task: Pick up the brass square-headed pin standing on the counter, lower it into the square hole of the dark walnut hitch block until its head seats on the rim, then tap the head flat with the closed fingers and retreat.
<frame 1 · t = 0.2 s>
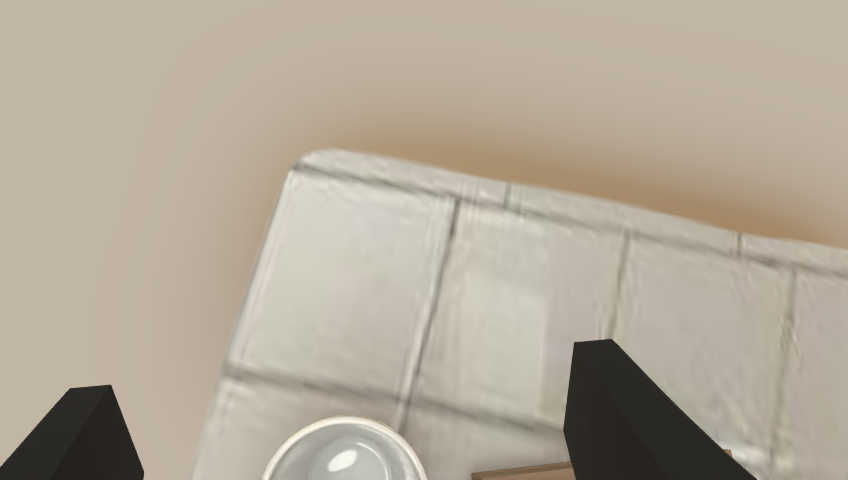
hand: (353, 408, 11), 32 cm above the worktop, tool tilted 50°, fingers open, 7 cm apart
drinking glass: (352, 476, 41), on the worktop
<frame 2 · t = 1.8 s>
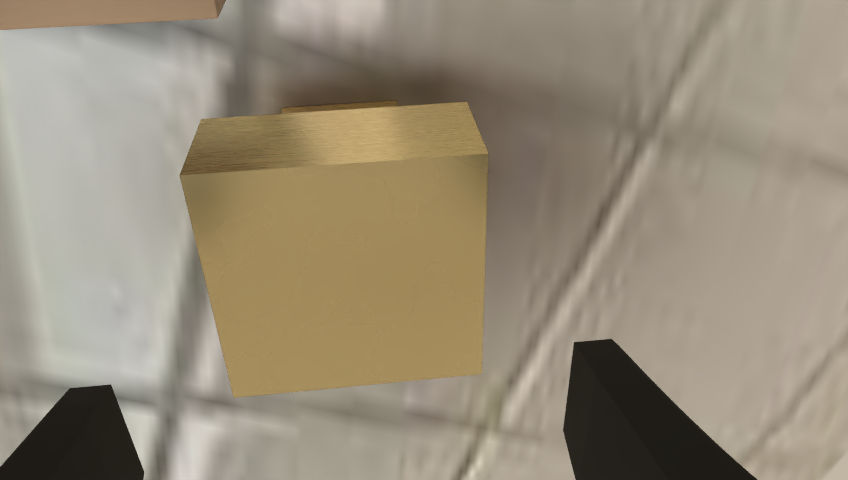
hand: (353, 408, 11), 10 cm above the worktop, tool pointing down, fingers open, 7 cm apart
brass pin: (344, 155, 19), on the worktop
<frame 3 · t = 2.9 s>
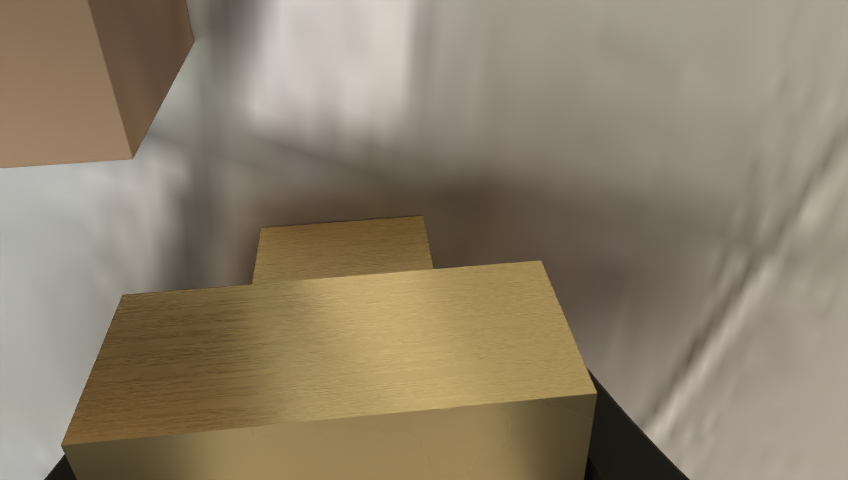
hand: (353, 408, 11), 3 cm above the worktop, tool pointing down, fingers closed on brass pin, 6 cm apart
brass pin: (349, 286, 14), on the worktop, touching gripper
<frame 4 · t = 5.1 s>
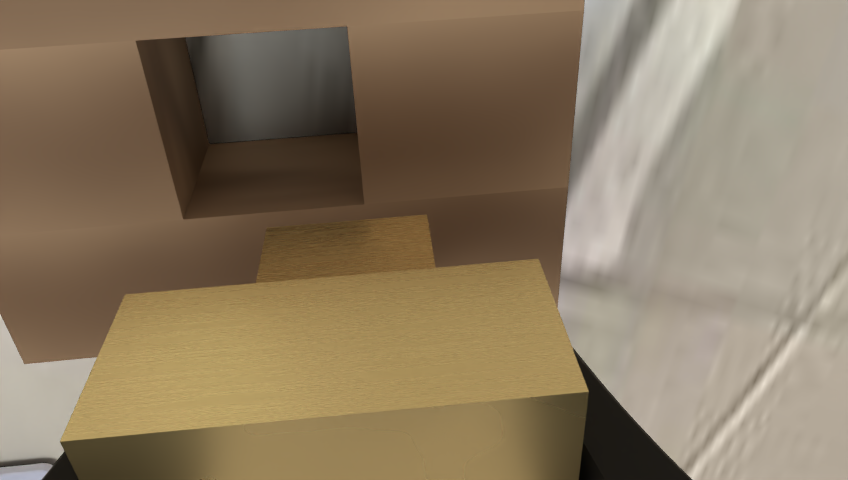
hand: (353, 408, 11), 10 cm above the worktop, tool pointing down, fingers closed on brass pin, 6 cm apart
hitch block: (273, 66, 19), on the worktop
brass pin: (355, 284, 14), point 7 cm above the worktop, touching gripper
when the fingers open (5 cm above the worktop, at t = 7.3 s): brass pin stays where it is, resting on hitch block.
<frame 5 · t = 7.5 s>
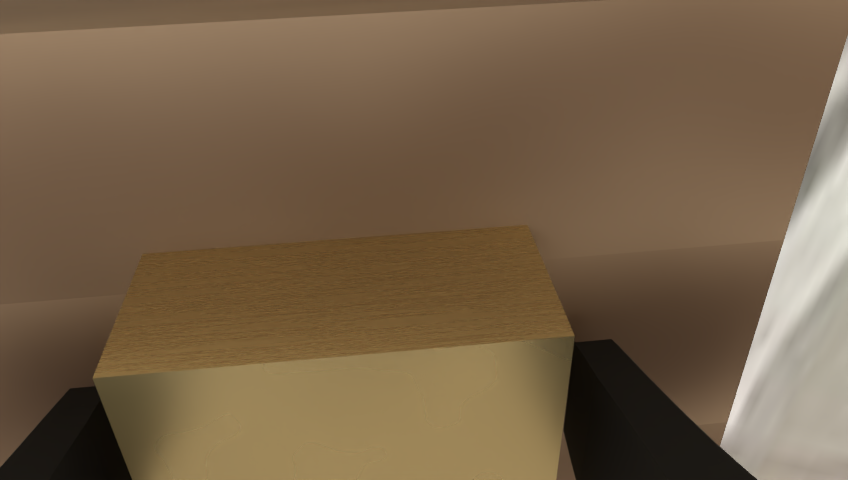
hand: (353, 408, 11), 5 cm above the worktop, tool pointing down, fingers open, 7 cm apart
hitch block: (348, 244, 15), on the worktop
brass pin: (350, 258, 15), resting on hitch block
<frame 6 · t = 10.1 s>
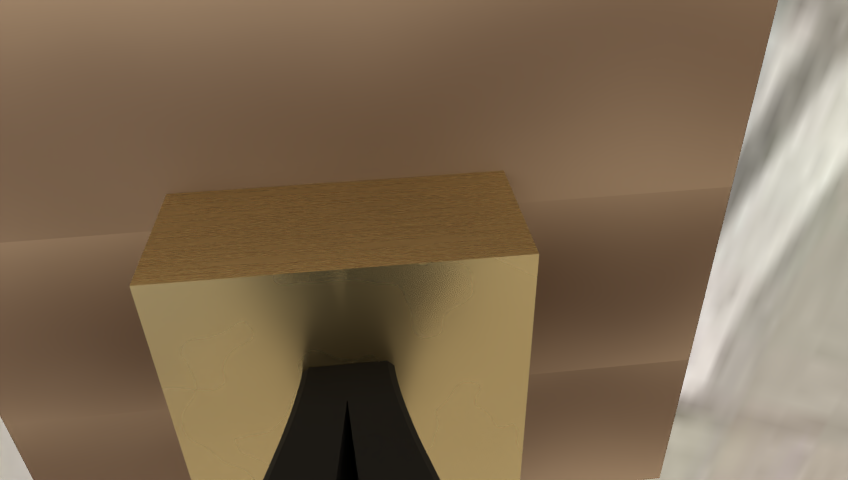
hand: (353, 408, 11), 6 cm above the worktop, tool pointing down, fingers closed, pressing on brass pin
hitch block: (347, 203, 17), on the worktop
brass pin: (348, 215, 16), resting on hitch block, touching gripper
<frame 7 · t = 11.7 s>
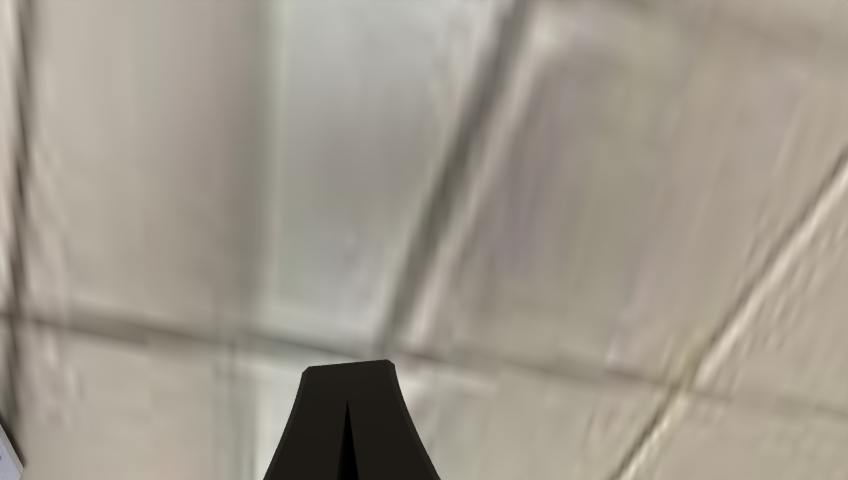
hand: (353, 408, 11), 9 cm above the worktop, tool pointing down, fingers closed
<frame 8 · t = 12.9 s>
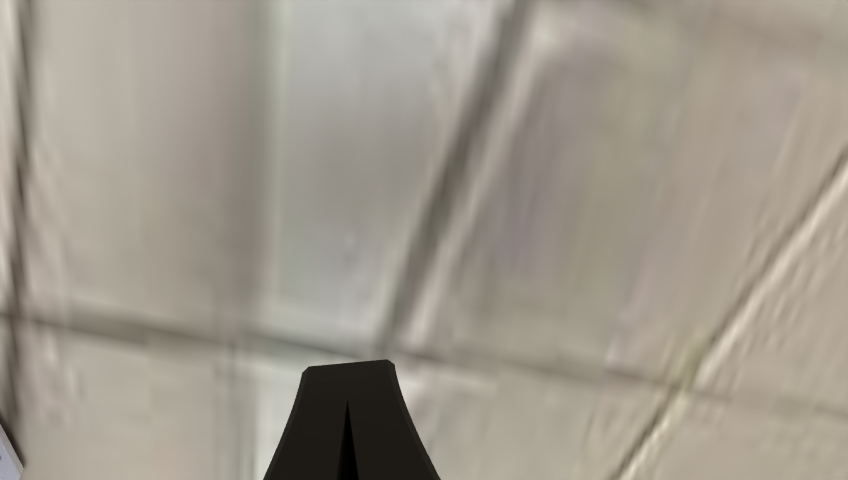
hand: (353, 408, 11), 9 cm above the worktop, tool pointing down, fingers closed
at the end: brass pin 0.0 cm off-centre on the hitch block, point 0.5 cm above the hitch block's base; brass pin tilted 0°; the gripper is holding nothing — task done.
